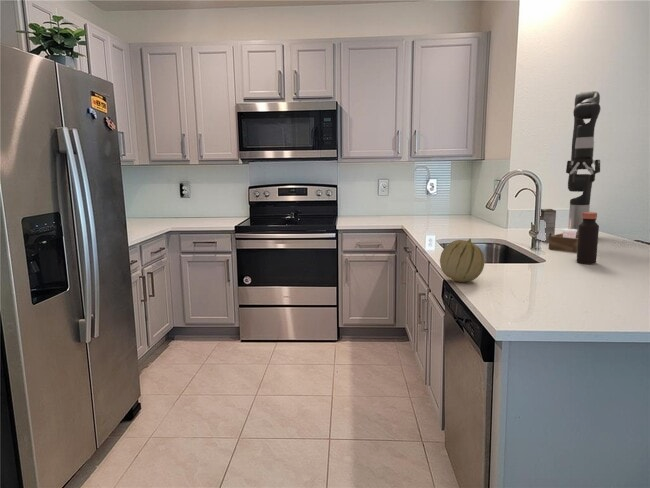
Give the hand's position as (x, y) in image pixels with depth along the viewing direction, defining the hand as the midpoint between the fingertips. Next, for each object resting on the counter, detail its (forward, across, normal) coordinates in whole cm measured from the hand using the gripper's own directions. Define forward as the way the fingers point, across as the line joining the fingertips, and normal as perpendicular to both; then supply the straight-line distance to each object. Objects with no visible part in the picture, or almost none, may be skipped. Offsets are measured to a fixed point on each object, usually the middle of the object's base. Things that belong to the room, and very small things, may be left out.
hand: (581, 182), depth 205 cm
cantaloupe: (+30, -7, +97) cm, 102 cm away
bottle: (+30, -21, +37) cm, 52 cm away
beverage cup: (+30, -2, +13) cm, 33 cm away
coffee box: (+30, +17, -2) cm, 35 cm away
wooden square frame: (+30, -2, +13) cm, 33 cm away
